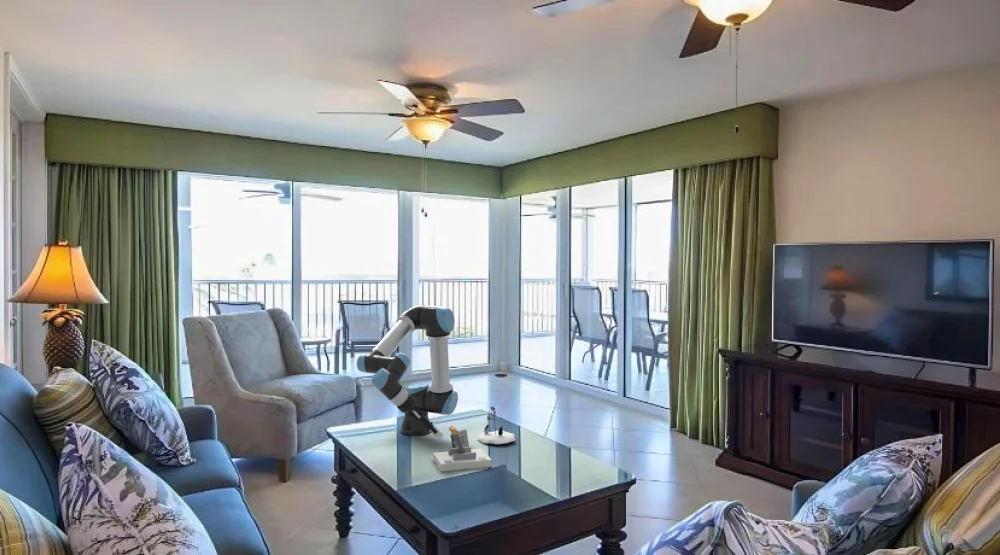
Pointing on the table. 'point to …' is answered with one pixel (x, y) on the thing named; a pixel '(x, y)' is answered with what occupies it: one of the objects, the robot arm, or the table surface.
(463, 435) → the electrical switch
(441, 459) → the switch block
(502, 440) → the figurine
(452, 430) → the handle
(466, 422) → the table surface
